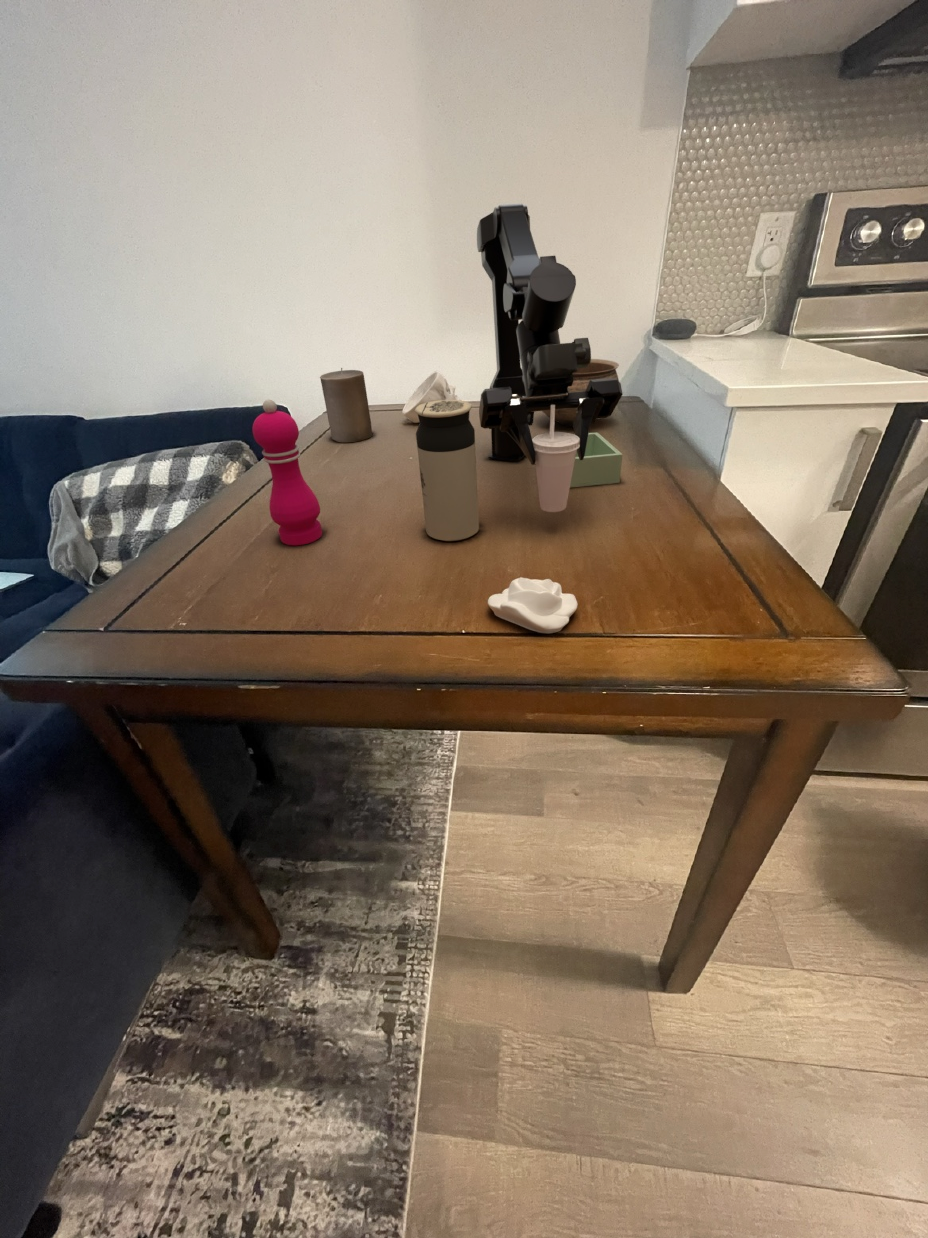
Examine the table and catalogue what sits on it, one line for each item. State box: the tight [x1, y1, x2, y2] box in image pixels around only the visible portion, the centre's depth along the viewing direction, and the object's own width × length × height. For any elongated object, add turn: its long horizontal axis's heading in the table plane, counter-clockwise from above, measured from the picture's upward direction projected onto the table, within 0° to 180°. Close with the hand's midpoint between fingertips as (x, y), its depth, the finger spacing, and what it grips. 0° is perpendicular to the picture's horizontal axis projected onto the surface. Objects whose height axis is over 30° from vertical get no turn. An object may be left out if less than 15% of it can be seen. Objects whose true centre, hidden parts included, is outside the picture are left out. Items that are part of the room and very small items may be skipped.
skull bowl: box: [401, 370, 463, 424], centre depth 134 cm, size 10×14×12 cm
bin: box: [570, 431, 623, 489], centre depth 98 cm, size 14×11×5 cm
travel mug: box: [415, 399, 480, 542], centre depth 77 cm, size 8×8×18 cm
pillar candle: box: [319, 367, 374, 443], centre depth 123 cm, size 10×10×15 cm
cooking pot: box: [541, 358, 620, 427], centre depth 123 cm, size 25×19×12 cm
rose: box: [487, 576, 578, 634], centre depth 61 cm, size 10×4×10 cm
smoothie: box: [532, 405, 580, 513], centre depth 74 cm, size 6×6×14 cm
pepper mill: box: [252, 398, 323, 546], centre depth 78 cm, size 7×7×20 cm
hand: (557, 461), depth 73 cm, fingers closed on smoothie, 6 cm apart
